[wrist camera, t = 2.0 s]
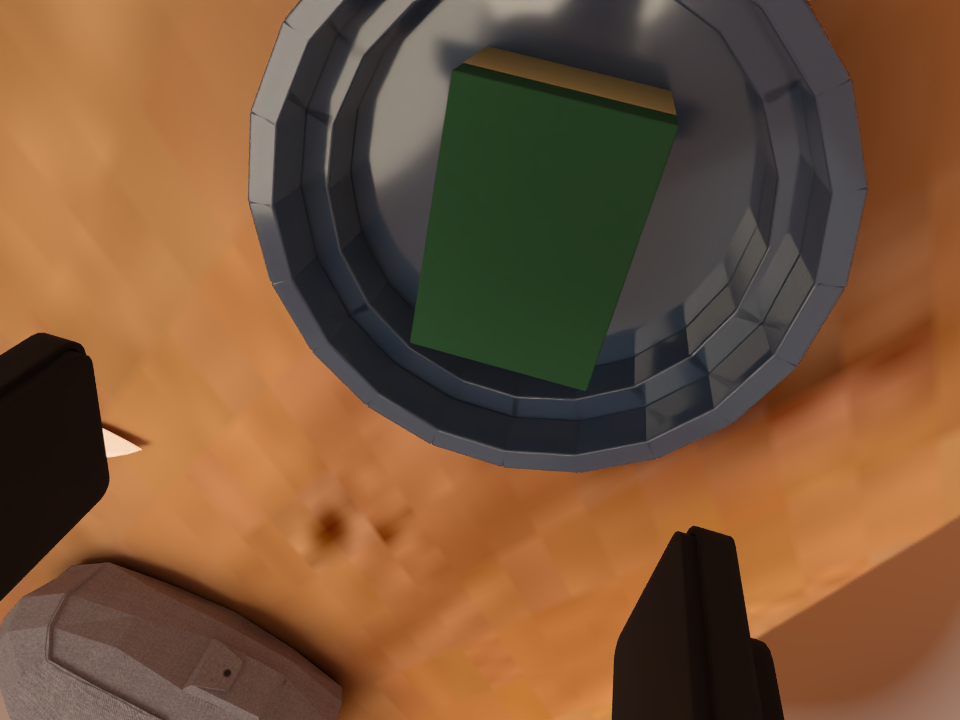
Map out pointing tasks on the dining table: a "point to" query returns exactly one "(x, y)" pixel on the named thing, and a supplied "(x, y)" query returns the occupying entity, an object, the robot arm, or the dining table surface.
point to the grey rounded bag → (148, 656)
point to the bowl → (663, 243)
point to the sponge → (537, 212)
